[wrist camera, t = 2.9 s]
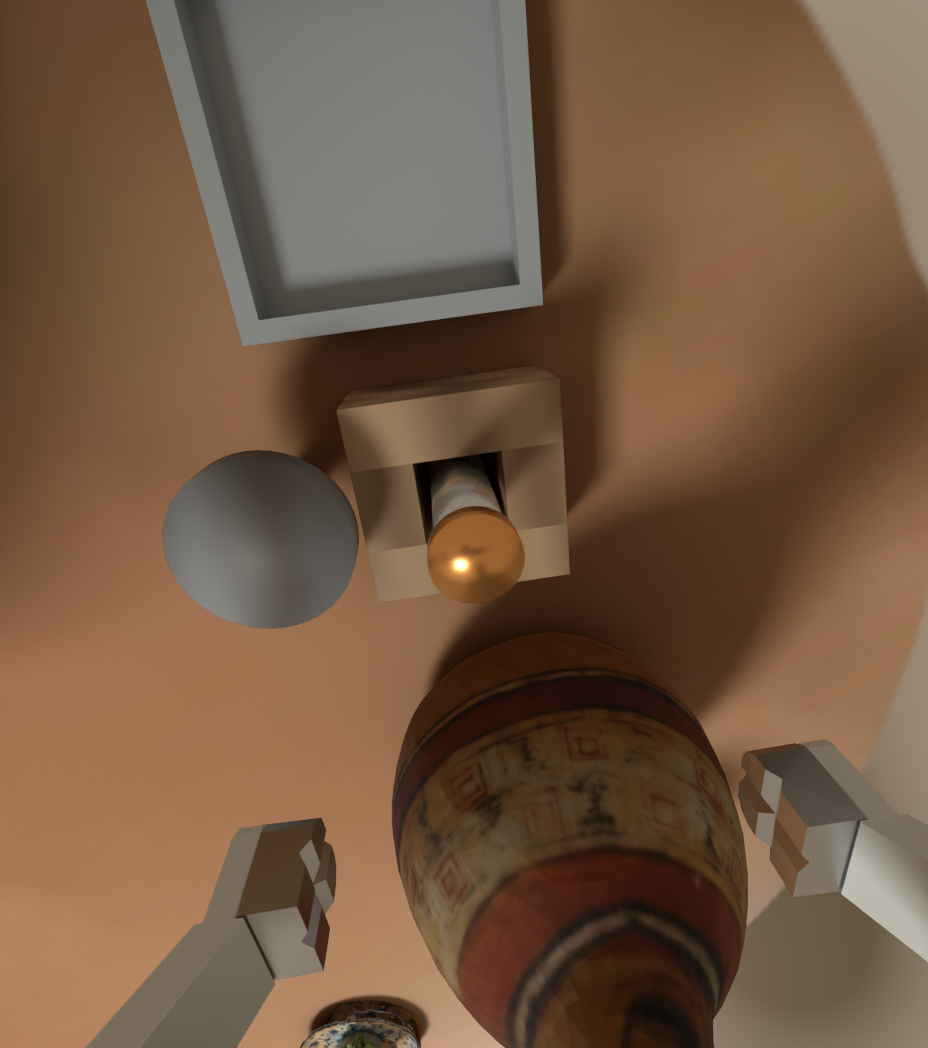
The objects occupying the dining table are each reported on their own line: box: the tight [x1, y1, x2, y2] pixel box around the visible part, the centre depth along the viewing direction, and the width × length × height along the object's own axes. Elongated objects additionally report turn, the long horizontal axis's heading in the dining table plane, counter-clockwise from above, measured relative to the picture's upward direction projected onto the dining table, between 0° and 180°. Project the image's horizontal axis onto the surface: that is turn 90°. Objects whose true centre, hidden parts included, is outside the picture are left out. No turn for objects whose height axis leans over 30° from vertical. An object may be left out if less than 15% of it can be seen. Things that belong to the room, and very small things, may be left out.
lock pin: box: [427, 454, 525, 603], centre depth 25 cm, size 4×4×12 cm
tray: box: [146, 0, 543, 346], centre depth 23 cm, size 14×14×2 cm
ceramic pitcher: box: [392, 632, 748, 1048], centre depth 24 cm, size 20×20×30 cm
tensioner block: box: [162, 365, 570, 628], centre depth 26 cm, size 18×10×8 cm, turn 97°
